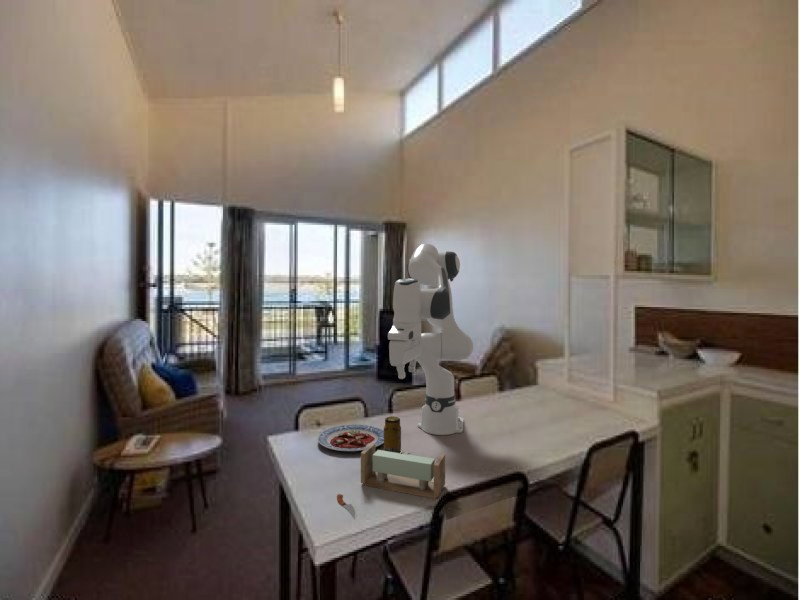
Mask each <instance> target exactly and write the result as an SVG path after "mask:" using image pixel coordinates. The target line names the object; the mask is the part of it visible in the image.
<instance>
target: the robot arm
mask: <svg viewBox="0 0 800 600" xmlns="http://www.w3.org/2000/svg"><path fill="white" fill-rule="evenodd" d="M460 268H461V262H460V258H459V257H458V255H457V253H455V252H454V251H446V252H445V251H444V252H443V251H442V252H441V251H440V252H439V251H438V249H437V248H436V246H435V245H433V244H430V243H422V244H420V245H419V246H418V247H416V248H415V250H414V251H413V253H412V254H411V256H410V258H409V259H408V261H407V263H406V274H407V276H408V278H401V279H398V280H396V281H395V282H394V288H393V298H392V311H393V312H394V314H393V319H392V326H391V329H390V330H389V331H388V333H387V340H390V341H389V344H388V349H389V350H388V351H389V354H388V355H389V356H388V357H389V364H390V365H391V366H392V367H396V371H397V376H398V379H400V380H403V379H405V378H406V372H405V368H406V367H405V365H406V364H408V363H409V365H408V372H409V373H414V372H415V371H416V364H417V363H418V364H419V365H420V366H421V368H422V369H423V371H424V375H425V385H426V388H425V389H426V390H425V391H426V393H425V394H424V395H425V396H424V402H425V404H424V405H423V406H422V407H421V414H420V415H421V416H420V417H421V418H420V419H421V420H420V422H418V423H417V427H418V428H420V429H422V431H424V432H425V433H427V434H431V435H434V436H435V435H437V436H445V435H452V434H458V433H460V434H461V433H464V421H465V420H464V417H461V416H459V407H458V405H457V404H456V392H455V376H454V374H453V373H452V372H451V371H449V370H448V369H446V368H444V367H442V366H441V365H440V364H439V362H441V361H462V360H467V359H469V358H470V357H471V356H472V354H473V351H474V343H473V340H472V338H471V337H470V336H469V335H468V334H467V333H465V332H464V331H463V330H462V329H460V327H459V326H458V324H457V322H456V320H455V316H454V309H453V308H454V306H453V296H452V295H453V294H452V289H451V284H450V282H453V281H454V280H455V278H456V277H457V276H458V274H459V272H460ZM421 285H423V286H426V288H421ZM422 319H426V321H427V323H429V324H430V325H431V326H433V327H435V328H437V329H439V330H440V332H423V333H422Z"/></svg>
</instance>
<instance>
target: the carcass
mask: <svg viewBox="0 0 800 600" xmlns="http://www.w3.org/2000/svg"><path fill="white" fill-rule="evenodd" d="M375 452H376V447H375V444H374V443H371V444H370V445H369V446H368V447H367V448H366V449H365V450H361V452H360V483H361V484H362V485H363V486H365V485H366V487H371V486H372V487H371V488H376V487H377V489H381V488H383V489H382V490H386V489H387V490H388V491H393V492H397V493H398V492H399V493H403V494H408V495H414V496H419V497H424V498H429V499H434V500H436V499H437V498H439V496H440V494H441V492H442V490H443V489H444V487H445V485H446V453H441V454H440V455H439V456H438V458H437V459H436V460H435V464H434V477H433V481H431V482H430V481H424V480H419V479H413V478H407V477H402V476H396V475H391V474H385V473H379V472H374V471H373V454H374V453H375Z"/></svg>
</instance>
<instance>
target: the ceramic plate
mask: <svg viewBox="0 0 800 600" xmlns="http://www.w3.org/2000/svg"><path fill="white" fill-rule="evenodd" d="M317 441H318V443H319V444H320V445H321V446H323V447H324V448H327V449H329V450H333V451H334V450H335V451H340V452H359V451H364V450H365V449H366V448H367V447H368V446H369V445H370V444H371V443H374V444H375V448H377V447H379V446H381V445H384V429H381V428H380V427H377V426H374V425H373V426H372V425H368V424H344V425H337V426H334V427H330V428H328V429H326V430H323V431H322V432H320V434H318V437H317Z"/></svg>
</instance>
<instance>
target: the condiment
mask: <svg viewBox="0 0 800 600" xmlns="http://www.w3.org/2000/svg"><path fill="white" fill-rule="evenodd" d="M383 431H384V443H383V449H381V450H382V451H383V450H384V451H388V452H395V453H400V452H401V450H402V452H403V453H402V454H407V455H409V454H410V453H411V452H410V451H407V450H405V449H402V427H401V419H400V418H399V417H397V416H394V415H393V416H387V417H385V418H384V426H383Z"/></svg>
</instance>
